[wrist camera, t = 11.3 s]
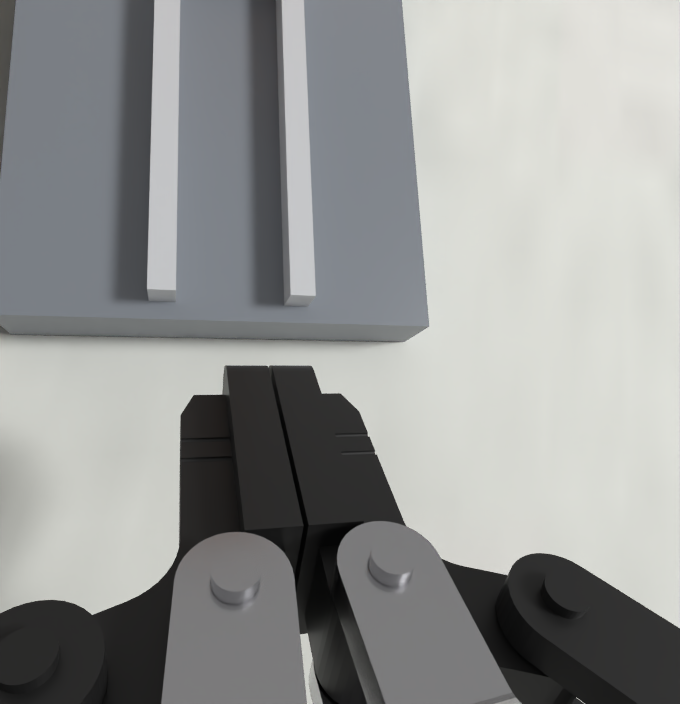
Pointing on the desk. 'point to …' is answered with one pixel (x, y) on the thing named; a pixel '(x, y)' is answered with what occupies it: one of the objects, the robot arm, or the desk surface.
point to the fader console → (210, 171)
